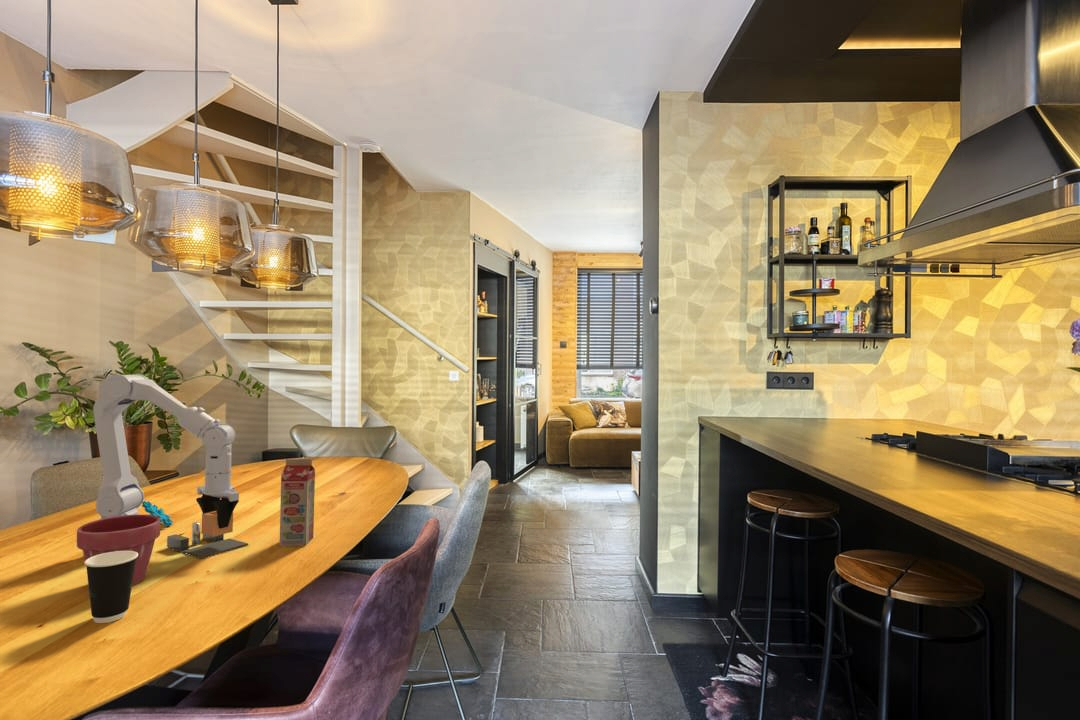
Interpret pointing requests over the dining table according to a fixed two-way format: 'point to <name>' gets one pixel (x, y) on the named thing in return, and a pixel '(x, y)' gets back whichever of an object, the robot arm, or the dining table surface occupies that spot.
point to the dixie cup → (110, 584)
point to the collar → (214, 525)
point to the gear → (157, 513)
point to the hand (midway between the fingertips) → (216, 525)
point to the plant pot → (121, 538)
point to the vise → (183, 542)
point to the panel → (215, 548)
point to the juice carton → (297, 503)
